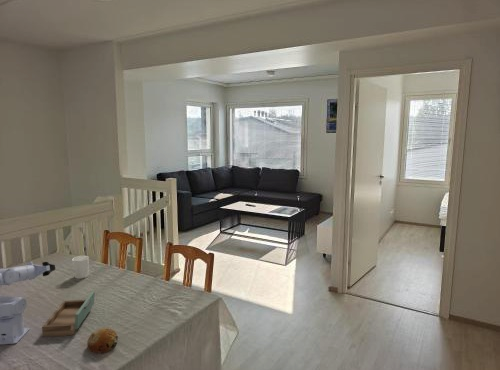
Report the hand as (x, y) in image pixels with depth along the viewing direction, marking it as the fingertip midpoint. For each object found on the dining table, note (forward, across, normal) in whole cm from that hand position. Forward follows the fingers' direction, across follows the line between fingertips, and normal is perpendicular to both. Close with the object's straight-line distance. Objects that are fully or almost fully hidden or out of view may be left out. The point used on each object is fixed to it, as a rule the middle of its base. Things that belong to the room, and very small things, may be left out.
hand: (46, 269), depth 148 cm
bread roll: (-16, -31, +32) cm, 47 cm away
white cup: (+36, +8, +7) cm, 38 cm away
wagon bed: (-3, -10, +23) cm, 25 cm away
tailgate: (-2, -16, +22) cm, 27 cm away
